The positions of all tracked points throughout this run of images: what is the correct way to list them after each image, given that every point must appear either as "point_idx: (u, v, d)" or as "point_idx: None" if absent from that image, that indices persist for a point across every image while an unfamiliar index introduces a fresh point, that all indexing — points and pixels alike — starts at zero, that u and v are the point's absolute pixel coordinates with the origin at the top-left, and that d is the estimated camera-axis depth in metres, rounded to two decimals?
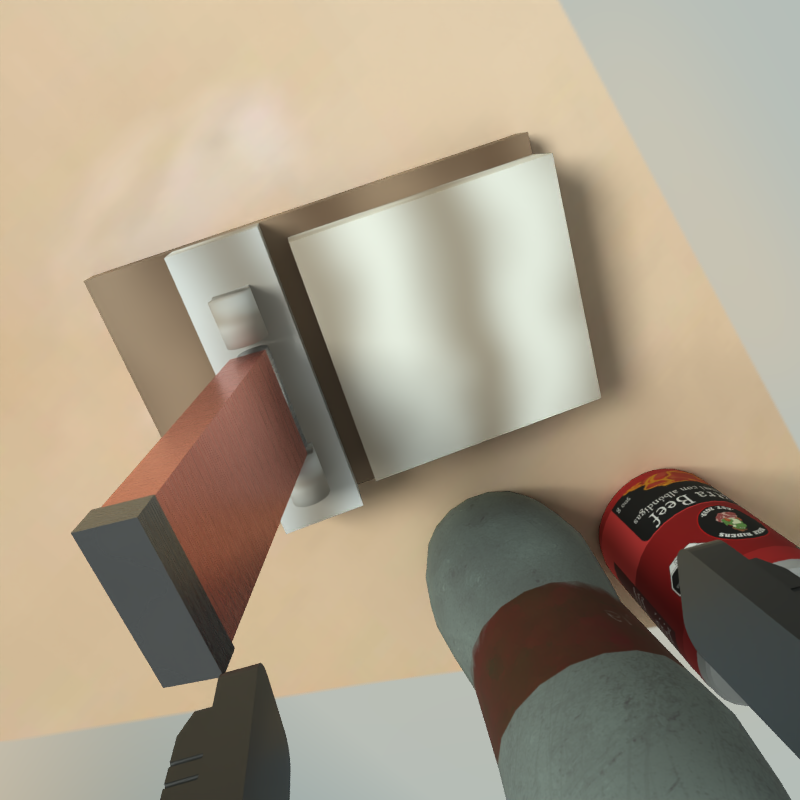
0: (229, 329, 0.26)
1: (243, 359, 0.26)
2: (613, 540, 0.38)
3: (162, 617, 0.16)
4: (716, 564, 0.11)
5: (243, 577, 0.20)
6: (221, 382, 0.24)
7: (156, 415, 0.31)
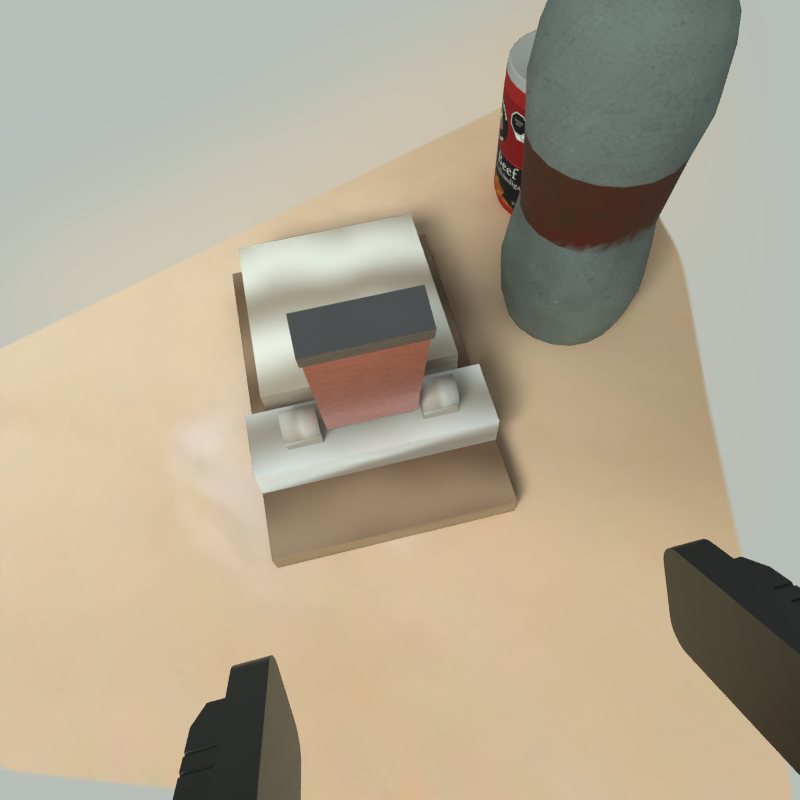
0: (301, 423, 0.35)
1: None
2: None
3: (369, 315, 0.24)
4: (701, 563, 0.11)
5: None
6: None
7: (392, 526, 0.36)
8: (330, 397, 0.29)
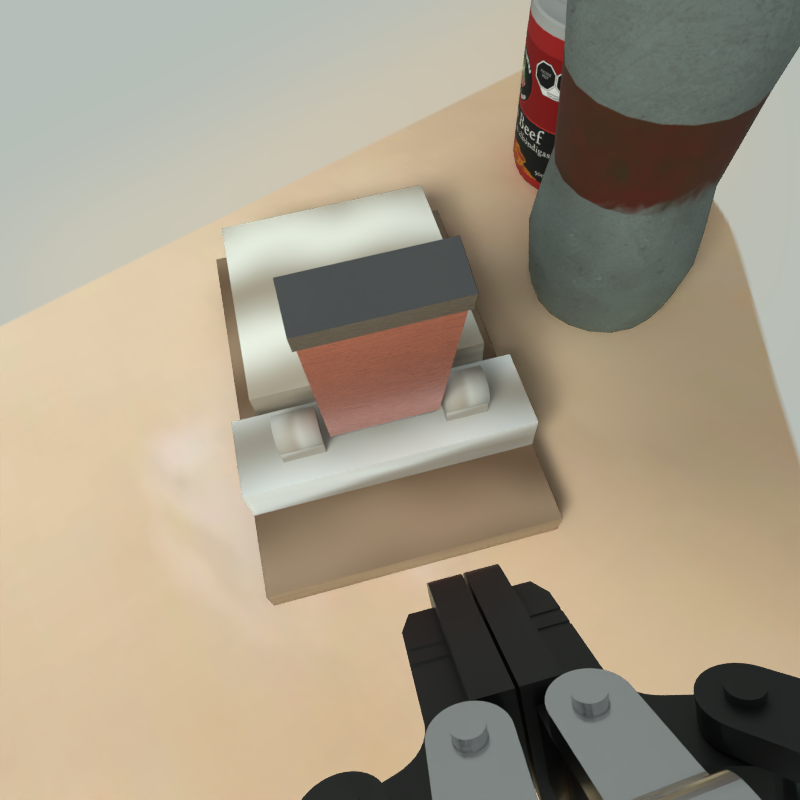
0: (298, 429, 0.28)
1: None
2: None
3: (386, 277, 0.17)
4: (481, 589, 0.12)
5: None
6: None
7: (412, 552, 0.30)
8: (334, 394, 0.23)
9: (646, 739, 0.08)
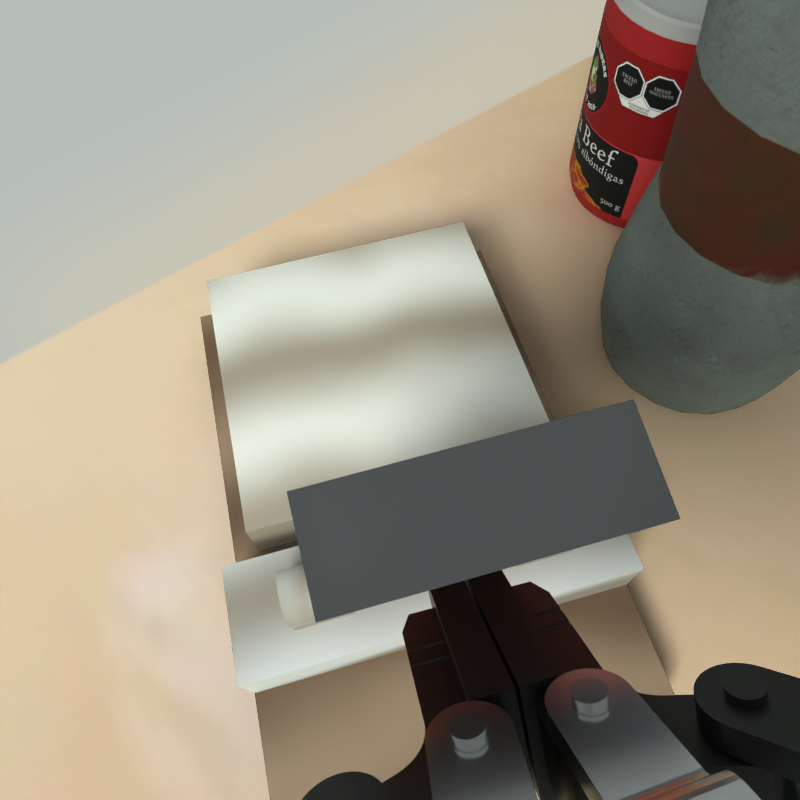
0: None
1: None
2: None
3: (503, 487, 0.09)
4: (481, 589, 0.12)
5: None
6: None
7: None
8: None
9: (646, 739, 0.08)
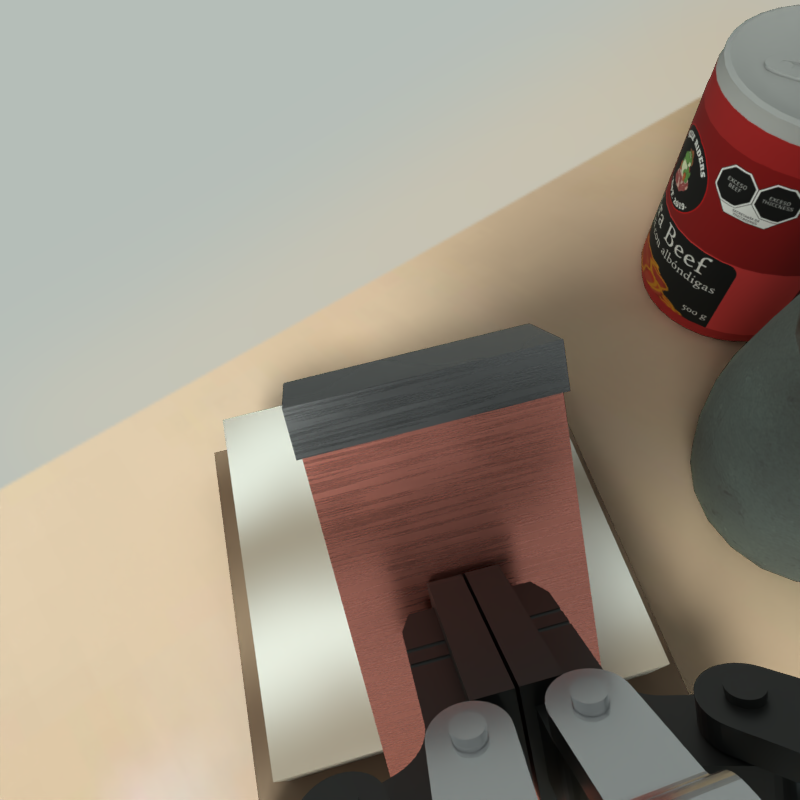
0: None
1: None
2: (748, 316, 0.27)
3: (432, 356, 0.13)
4: (481, 589, 0.12)
5: None
6: None
7: None
8: (398, 674, 0.13)
9: (646, 739, 0.08)
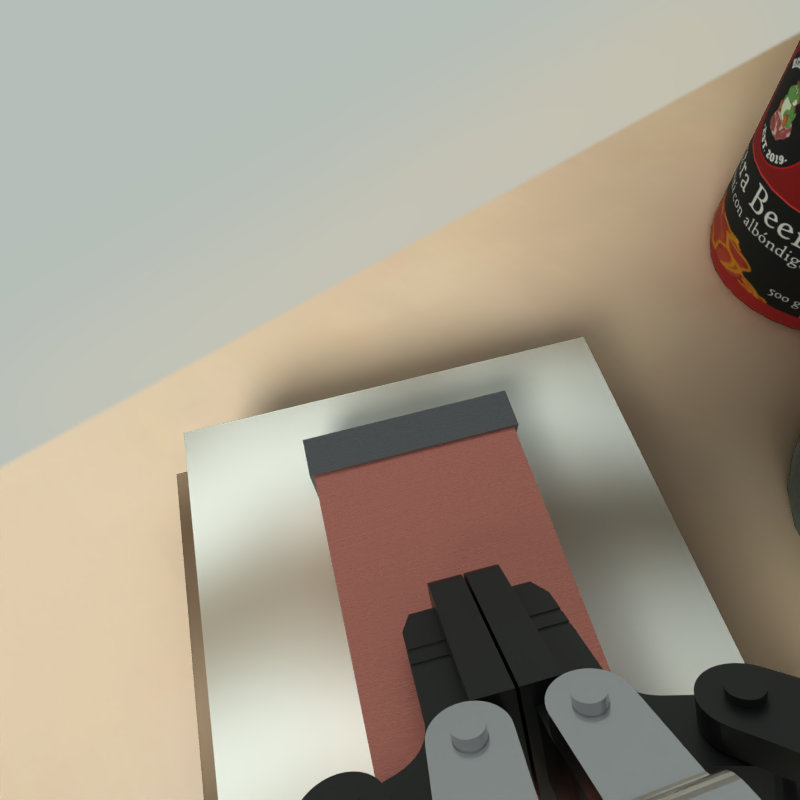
0: None
1: None
2: None
3: None
4: (481, 589, 0.12)
5: None
6: None
7: None
8: (394, 695, 0.13)
9: (646, 739, 0.08)
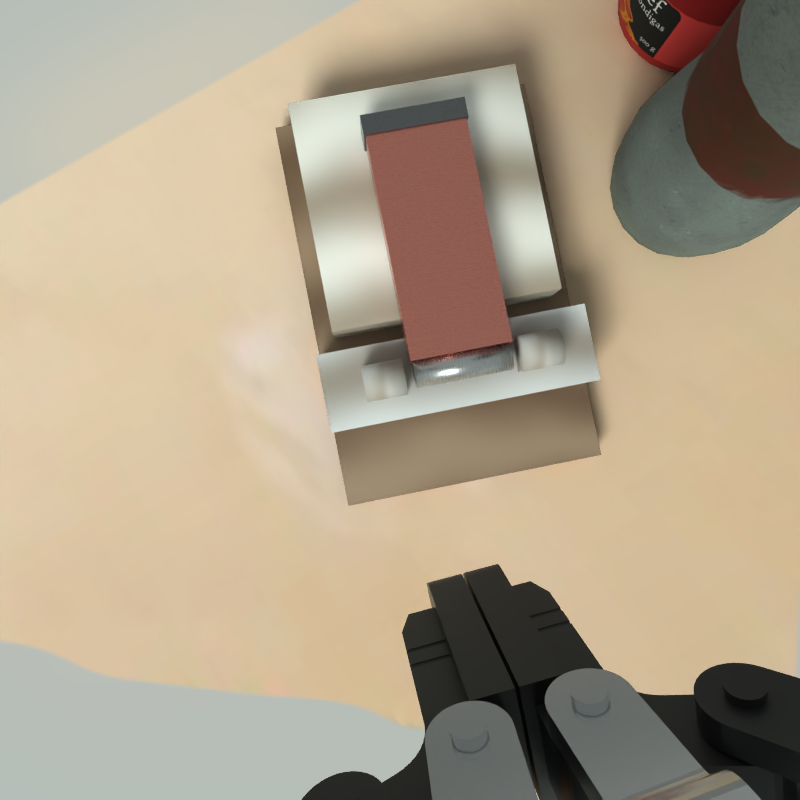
0: (388, 386, 0.31)
1: (407, 351, 0.32)
2: (684, 54, 0.36)
3: None
4: (481, 589, 0.12)
5: None
6: (398, 303, 0.32)
7: (471, 476, 0.35)
8: (400, 234, 0.31)
9: (646, 739, 0.08)
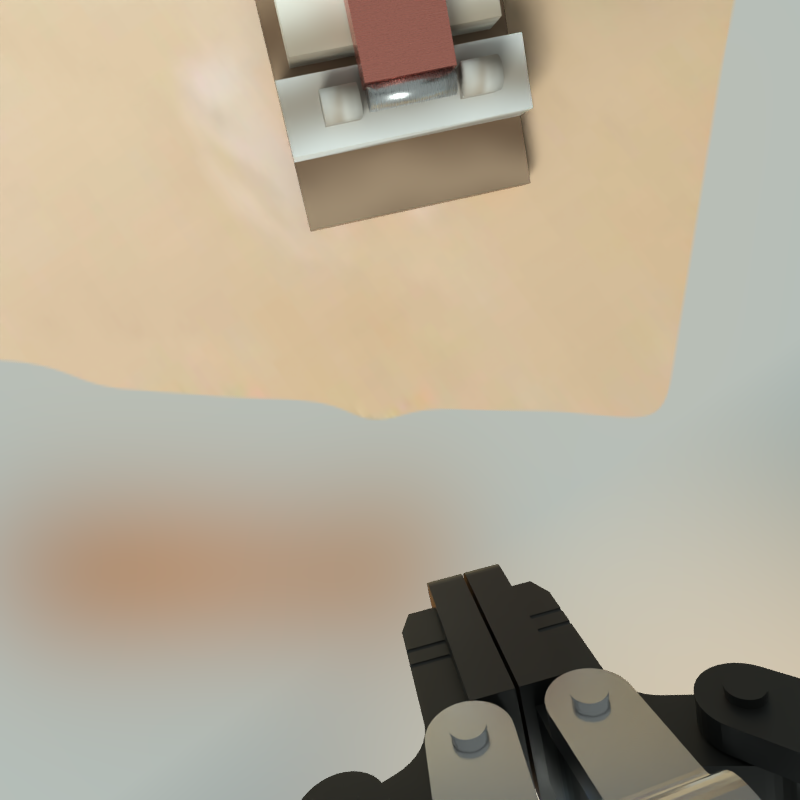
0: (346, 108, 0.34)
1: (361, 75, 0.34)
2: None
3: None
4: (481, 589, 0.12)
5: None
6: (351, 25, 0.34)
7: (418, 203, 0.40)
8: None
9: (646, 739, 0.08)
